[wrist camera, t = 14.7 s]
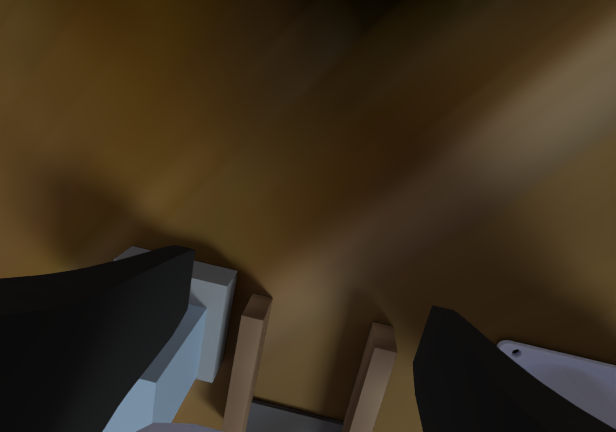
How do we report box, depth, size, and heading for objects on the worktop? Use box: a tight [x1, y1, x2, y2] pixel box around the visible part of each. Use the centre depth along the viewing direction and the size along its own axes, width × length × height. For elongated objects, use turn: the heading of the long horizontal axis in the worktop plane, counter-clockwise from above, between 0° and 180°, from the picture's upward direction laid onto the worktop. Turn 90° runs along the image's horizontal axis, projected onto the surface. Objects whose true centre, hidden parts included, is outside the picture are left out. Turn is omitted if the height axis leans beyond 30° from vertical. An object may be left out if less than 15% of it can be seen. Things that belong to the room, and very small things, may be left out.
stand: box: [113, 246, 238, 383], centre depth 24 cm, size 6×6×2 cm
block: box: [103, 304, 207, 432], centre depth 20 cm, size 4×4×6 cm
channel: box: [222, 293, 397, 432], centre depth 24 cm, size 8×10×2 cm
